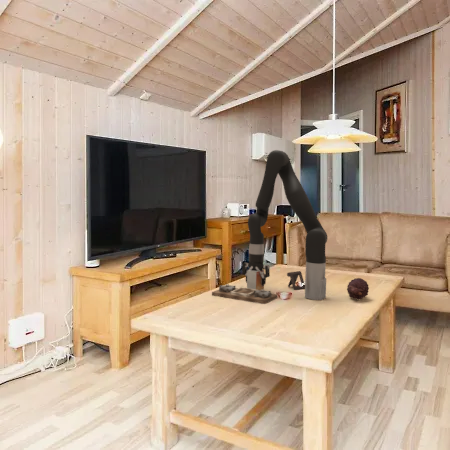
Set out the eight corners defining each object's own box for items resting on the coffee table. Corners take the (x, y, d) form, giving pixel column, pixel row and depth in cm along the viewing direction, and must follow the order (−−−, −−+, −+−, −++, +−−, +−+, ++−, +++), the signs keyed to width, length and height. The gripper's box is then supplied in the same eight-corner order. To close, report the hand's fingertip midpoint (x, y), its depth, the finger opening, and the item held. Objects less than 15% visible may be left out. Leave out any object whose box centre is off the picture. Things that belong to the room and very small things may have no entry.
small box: (255, 292, 212) (256, 271, 211) (246, 291, 215) (246, 270, 214) (264, 290, 218) (264, 269, 217) (255, 288, 222) (255, 268, 221)
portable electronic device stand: (295, 290, 219) (296, 274, 218) (284, 287, 225) (285, 271, 225) (307, 288, 224) (307, 272, 223) (296, 285, 230) (297, 270, 230)
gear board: (277, 297, 203) (277, 288, 203) (264, 303, 191) (265, 294, 191) (226, 289, 217) (226, 281, 217) (211, 295, 205) (212, 286, 205)
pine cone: (347, 293, 214) (348, 274, 213) (368, 295, 211) (369, 275, 210) (345, 301, 197) (346, 280, 197) (368, 304, 194) (369, 282, 193)
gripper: (272, 253, 215) (271, 284, 216) (247, 250, 222) (246, 281, 223) (266, 254, 208) (265, 287, 210) (240, 252, 215) (239, 283, 217)
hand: (255, 284), depth 216 cm, fingers open, 8 cm apart
